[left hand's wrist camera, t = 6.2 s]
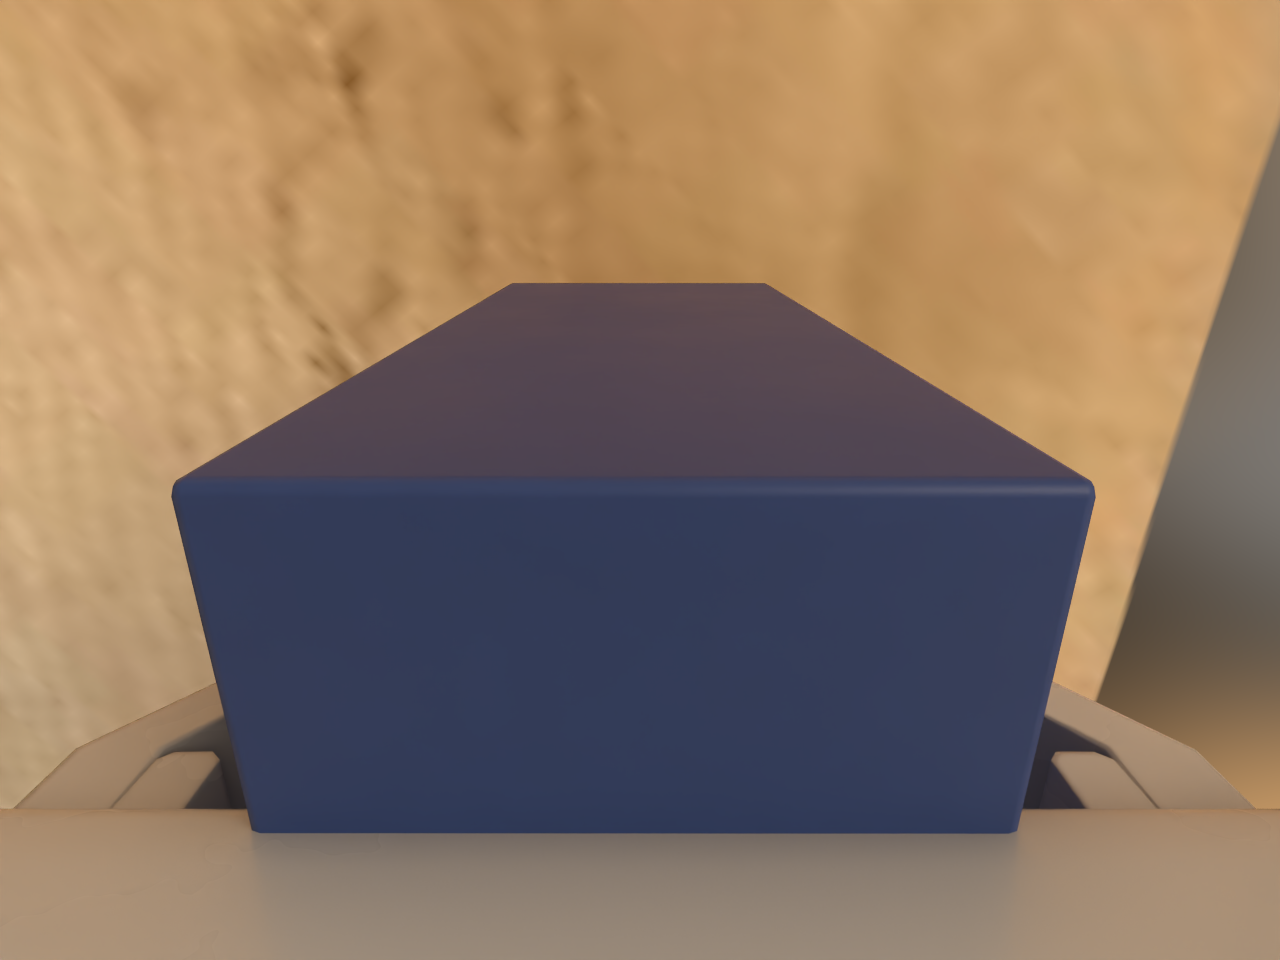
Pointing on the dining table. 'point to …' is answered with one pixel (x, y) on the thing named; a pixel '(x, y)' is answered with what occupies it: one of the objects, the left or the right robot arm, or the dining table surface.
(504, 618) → the brick
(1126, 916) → the left robot arm
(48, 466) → the dining table surface
